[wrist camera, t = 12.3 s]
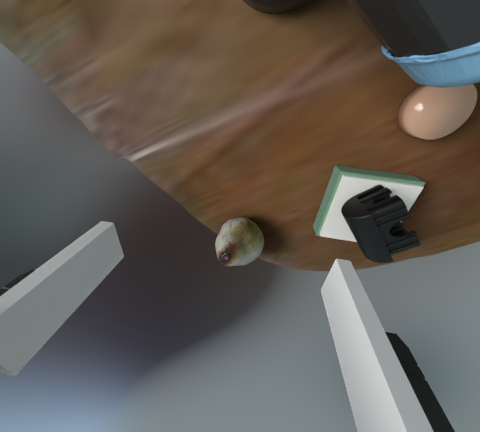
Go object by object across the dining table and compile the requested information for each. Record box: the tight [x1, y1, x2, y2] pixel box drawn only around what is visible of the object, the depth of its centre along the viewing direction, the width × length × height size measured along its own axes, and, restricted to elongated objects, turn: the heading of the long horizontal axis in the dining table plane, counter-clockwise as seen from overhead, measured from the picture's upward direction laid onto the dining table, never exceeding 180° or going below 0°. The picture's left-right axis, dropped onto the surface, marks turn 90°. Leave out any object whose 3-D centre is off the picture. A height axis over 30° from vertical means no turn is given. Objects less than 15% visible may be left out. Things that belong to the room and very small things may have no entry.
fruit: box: [215, 217, 264, 266], centre depth 38 cm, size 10×9×12 cm
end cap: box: [341, 184, 420, 263], centre depth 31 cm, size 10×7×7 cm
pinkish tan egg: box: [397, 84, 477, 140], centre depth 27 cm, size 7×7×4 cm
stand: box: [313, 165, 426, 242], centre depth 35 cm, size 13×13×4 cm
